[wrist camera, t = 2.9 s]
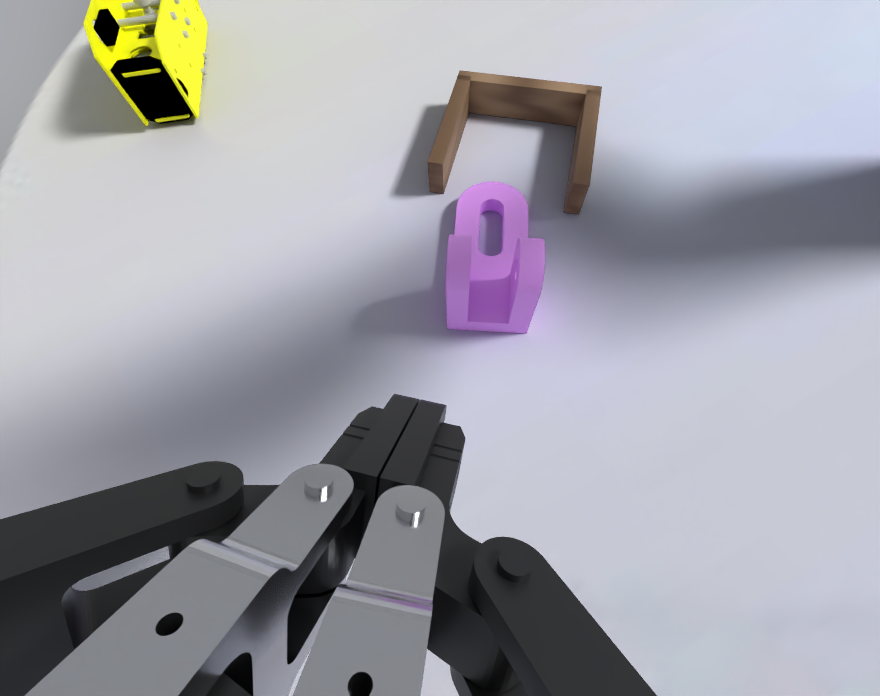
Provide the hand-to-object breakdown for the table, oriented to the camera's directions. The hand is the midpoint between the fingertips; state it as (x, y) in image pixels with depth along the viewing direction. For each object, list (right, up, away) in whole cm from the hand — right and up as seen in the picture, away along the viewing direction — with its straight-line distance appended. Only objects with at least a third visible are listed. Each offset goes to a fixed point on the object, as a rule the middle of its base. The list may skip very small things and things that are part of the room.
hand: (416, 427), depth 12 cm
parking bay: (+7, +19, +24) cm, 32 cm away
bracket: (+5, +9, +20) cm, 23 cm away
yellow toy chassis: (-26, +30, +31) cm, 51 cm away
